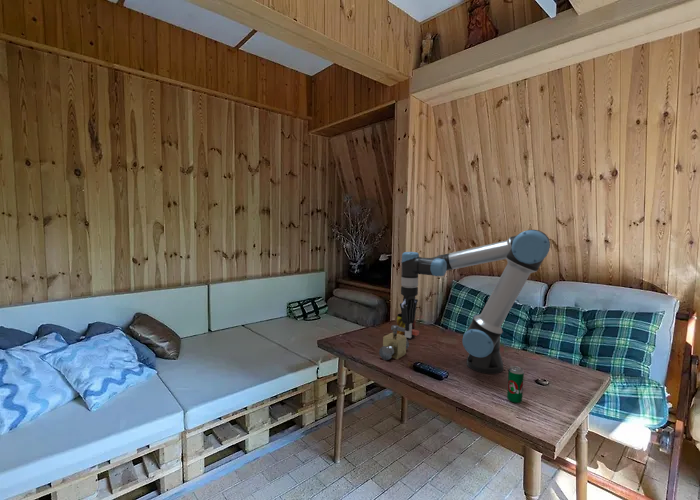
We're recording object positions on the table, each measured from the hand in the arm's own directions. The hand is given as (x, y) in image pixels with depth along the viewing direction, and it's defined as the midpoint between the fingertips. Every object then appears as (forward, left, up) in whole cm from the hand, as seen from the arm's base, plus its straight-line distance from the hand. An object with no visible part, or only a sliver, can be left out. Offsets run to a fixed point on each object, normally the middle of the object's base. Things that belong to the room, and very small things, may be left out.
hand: (408, 337), depth 156 cm
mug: (+19, -29, -12) cm, 36 cm away
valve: (+9, -3, -11) cm, 14 cm away
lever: (+4, -3, -2) cm, 5 cm away
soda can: (-47, +6, -12) cm, 49 cm away
